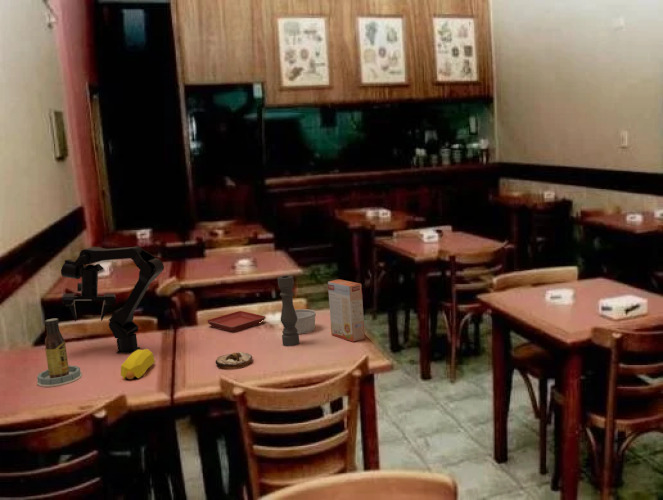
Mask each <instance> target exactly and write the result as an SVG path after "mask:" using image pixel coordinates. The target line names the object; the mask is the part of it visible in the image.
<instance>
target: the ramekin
mask: <svg viewBox="0 0 663 500" xmlns="http://www.w3.org/2000/svg"><path fill="white" fill-rule="evenodd" d="M295 312H296V315H297V322H296V324H295V325H296V326H295V327H296V329H297V330H298V332H297V333H298V334H299V335H302V334H303V335H304V334H308V333H311V332H313V331H314V329H315V327H316V315H317V314H316V311H315V310H313V309H307V308H306V309H305V308H298V309H295Z"/></svg>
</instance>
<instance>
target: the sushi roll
mask: <svg viewBox="0 0 663 500" xmlns="http://www.w3.org/2000/svg"><path fill="white" fill-rule="evenodd" d="M252 363H253V356H252V354H250V353H248V352H244V351H243V352H241V351H239V352H238V351H237V352H233V353H228V354H222V355H220V356H218V357H217V358H216V360H215V364H216V367H217V368H218V370H222V371H223V370H228V371H229V370H237V369H241V368H244V367H247V366H248V365H251V364H252Z"/></svg>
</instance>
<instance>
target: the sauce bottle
mask: <svg viewBox="0 0 663 500" xmlns="http://www.w3.org/2000/svg"><path fill="white" fill-rule="evenodd" d="M44 322H45V326H46V333H47V334H46V336H45V339H44V346H45V356H46V363H47V370H48V371H49V375H50V378H57V377H63V376H66V375H69V367H68V366H69V362H68V361H69V360H68V354H67V346H66V340H65V339H64V337H63V335H62V333H61V331H60V325H59V322H60V320H59V318H54V317H53V318H50V319H46V320H45V321H44Z"/></svg>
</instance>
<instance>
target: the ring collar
mask: <svg viewBox="0 0 663 500" xmlns="http://www.w3.org/2000/svg"><path fill="white" fill-rule="evenodd" d="M68 367H69V375H66V376H63V377H57V378H50V375H49V371H48V369H45V370H43V371H41V372H39V373H38V374H37V376H36V378H37V380H36V384H37V386H39V387H42V388H51V387H52V388H53V387H60V386H64V385H69V384H72V383H74V382H76V381H78V380H80V379H81V378H82V376H83V373H82V371H81V367H80V366H77V365H68Z"/></svg>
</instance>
